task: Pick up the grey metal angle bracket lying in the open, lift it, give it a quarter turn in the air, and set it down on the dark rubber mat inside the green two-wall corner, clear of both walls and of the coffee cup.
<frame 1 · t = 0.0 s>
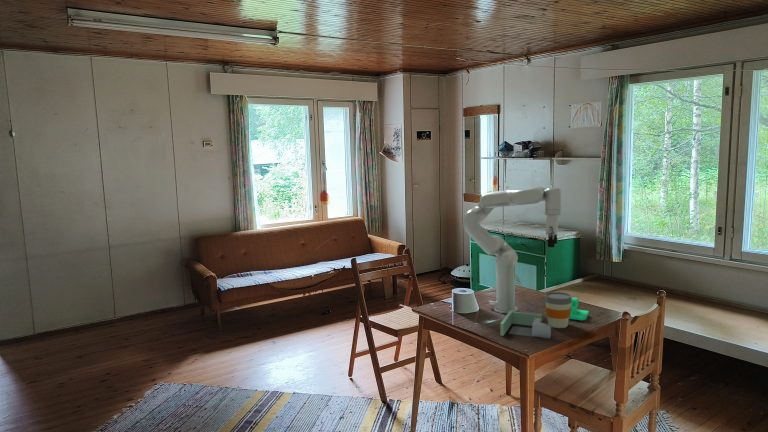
hand: (552, 245, 271), 37 cm above the table, tool pointing down, fingers open, 9 cm apart
corner walls: (510, 323, 265), on the table
reusable coffee cup: (557, 325, 260), on the table
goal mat: (523, 331, 253), on the table
camera mount: (578, 318, 270), on the table
bracket: (541, 336, 245), on the table, touching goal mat
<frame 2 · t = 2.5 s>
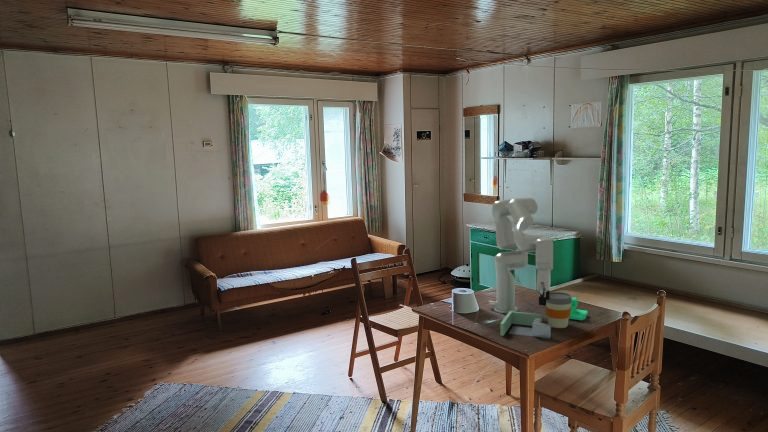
hand: (544, 302, 242), 17 cm above the table, tool pointing down, fingers open, 9 cm apart
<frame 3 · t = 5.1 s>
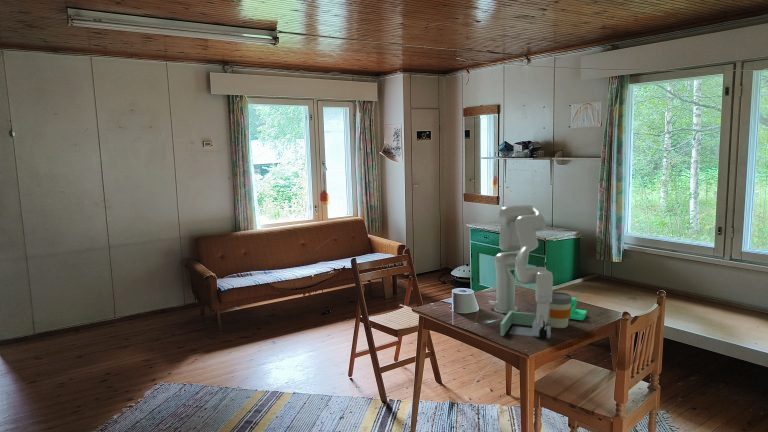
hand: (543, 336, 245), 0 cm above the table, tool pointing down, fingers closed on bracket, 2 cm apart
bracket: (541, 336, 245), on the table, touching gripper
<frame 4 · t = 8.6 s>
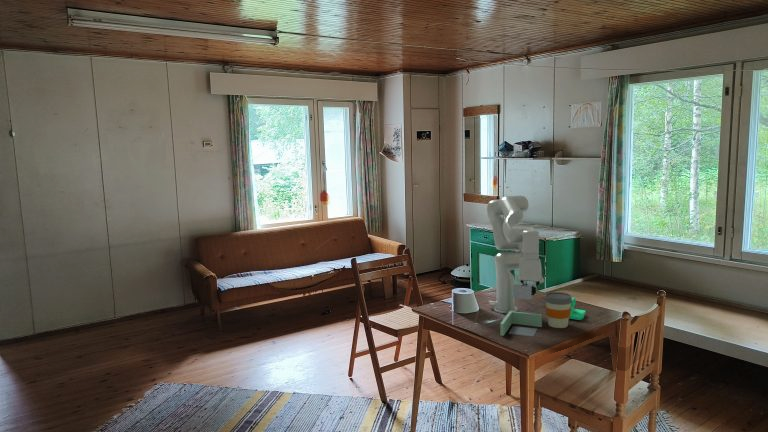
hand: (530, 294, 250), 18 cm above the table, tool pointing down, fingers closed on bracket, 2 cm apart
bracket: (530, 297, 250), point 17 cm above the table, touching gripper
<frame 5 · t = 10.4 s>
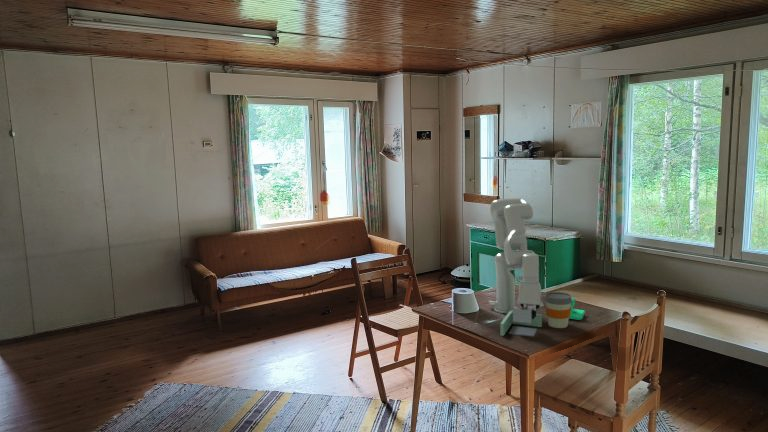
hand: (530, 317, 251), 7 cm above the table, tool pointing down, fingers closed on bracket, 2 cm apart
bracket: (530, 320, 251), point 6 cm above the table, touching gripper
when the fingers open (2 cm above the table, at t = 12.1 s): bracket stays where it is, resting on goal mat.
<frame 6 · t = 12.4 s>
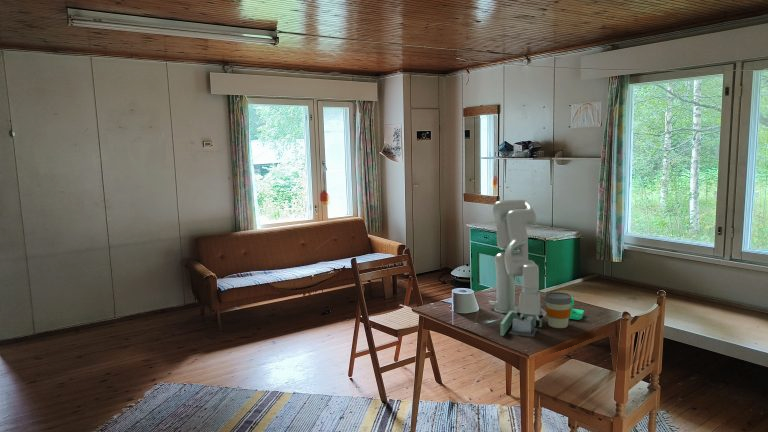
hand: (529, 326, 252), 3 cm above the table, tool pointing down, fingers open, 5 cm apart
bracket: (529, 331, 252), resting on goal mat, touching gripper
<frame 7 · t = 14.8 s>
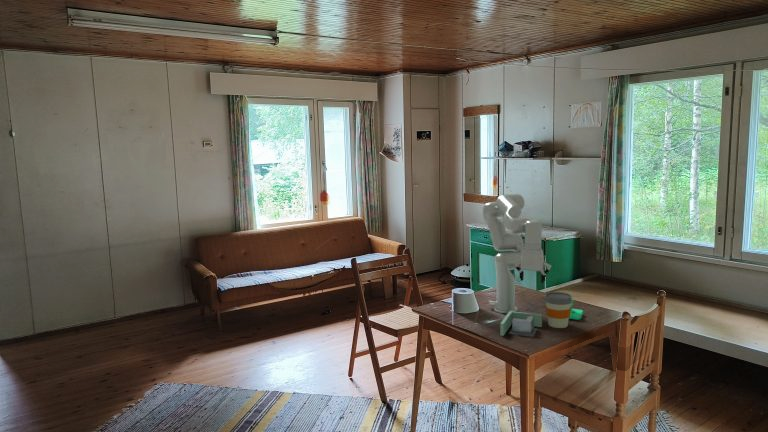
hand: (532, 281, 254), 23 cm above the table, tool pointing down, fingers open, 9 cm apart
bracket: (529, 331, 252), resting on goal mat
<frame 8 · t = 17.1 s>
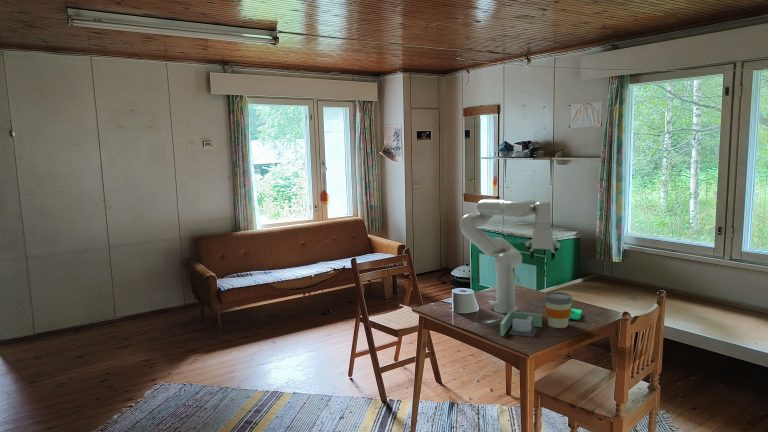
hand: (542, 259, 268), 30 cm above the table, tool pointing down, fingers open, 9 cm apart
at the end: bracket inside the target area (0.9 cm from its centre), resting on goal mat; bracket tilted 0°; bracket touching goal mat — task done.
